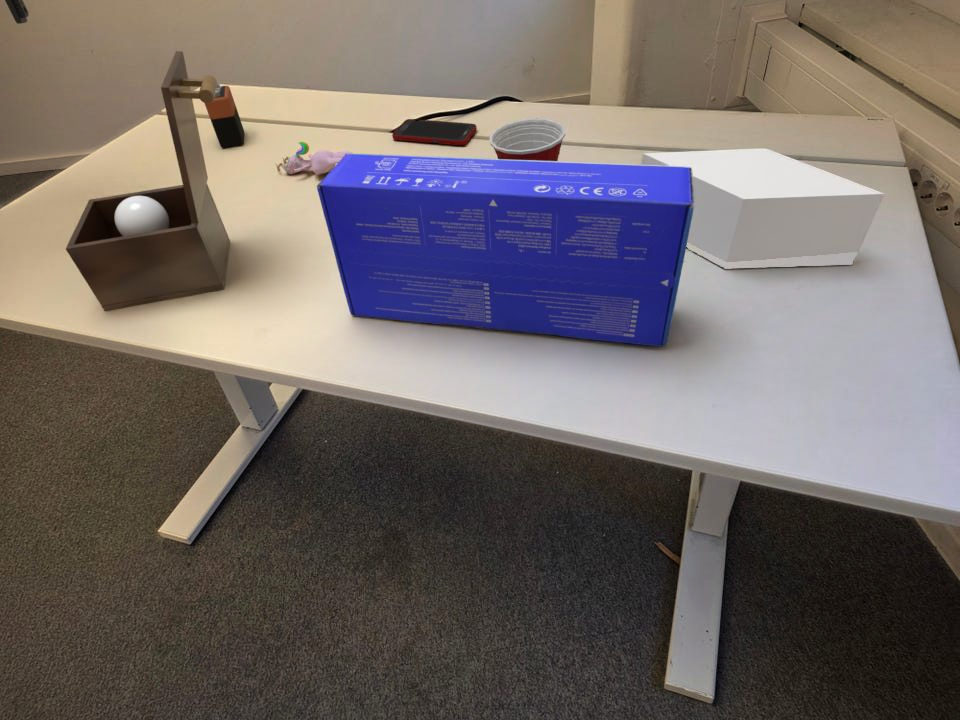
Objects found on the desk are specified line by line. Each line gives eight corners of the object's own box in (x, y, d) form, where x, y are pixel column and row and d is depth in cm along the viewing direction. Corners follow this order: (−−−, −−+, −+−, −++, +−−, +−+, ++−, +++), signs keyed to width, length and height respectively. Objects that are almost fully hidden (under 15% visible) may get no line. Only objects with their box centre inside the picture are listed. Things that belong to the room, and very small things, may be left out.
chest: (104, 311, 81) (65, 249, 74) (122, 259, 90) (88, 199, 83) (224, 289, 83) (196, 226, 76) (230, 240, 91) (206, 180, 85)
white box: (648, 196, 94) (658, 131, 86) (857, 237, 83) (887, 166, 76) (617, 245, 85) (625, 177, 77) (846, 297, 74) (880, 224, 67)
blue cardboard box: (666, 305, 75) (694, 164, 62) (665, 351, 69) (696, 206, 56) (371, 277, 82) (342, 147, 70) (348, 317, 77) (312, 183, 64)
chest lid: (160, 87, 64) (206, 88, 66) (175, 50, 73) (216, 52, 75) (191, 223, 75) (231, 223, 76) (201, 177, 84) (236, 178, 85)
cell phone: (407, 123, 119) (406, 118, 118) (478, 128, 115) (477, 123, 114) (391, 140, 113) (390, 135, 113) (465, 146, 110) (464, 141, 109)
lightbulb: (156, 288, 82) (117, 216, 75) (135, 272, 85) (96, 201, 78) (198, 266, 85) (166, 195, 78) (177, 251, 89) (143, 182, 81)
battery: (221, 149, 115) (201, 95, 108) (222, 135, 120) (203, 83, 113) (244, 145, 116) (226, 92, 109) (244, 131, 121) (227, 79, 114)
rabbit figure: (277, 185, 106) (352, 178, 101) (262, 153, 102) (339, 144, 97) (294, 169, 110) (366, 161, 105) (280, 137, 107) (354, 128, 102)
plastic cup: (499, 188, 98) (496, 114, 90) (566, 191, 96) (569, 116, 88) (486, 224, 91) (481, 147, 82) (558, 228, 89) (561, 150, 80)
